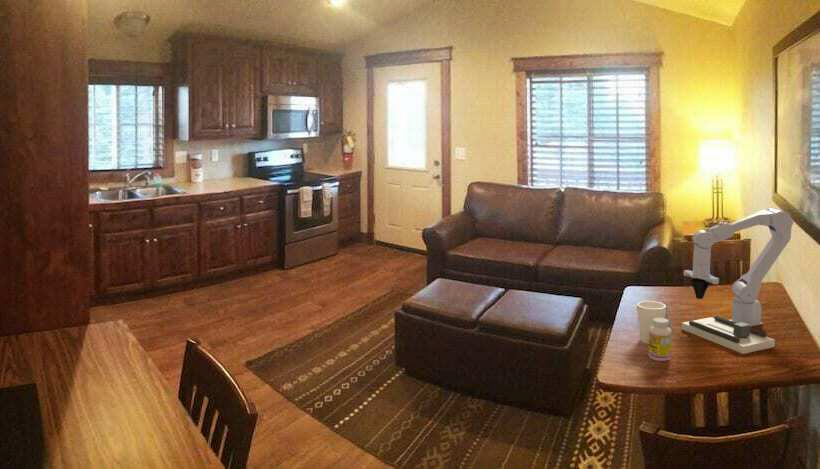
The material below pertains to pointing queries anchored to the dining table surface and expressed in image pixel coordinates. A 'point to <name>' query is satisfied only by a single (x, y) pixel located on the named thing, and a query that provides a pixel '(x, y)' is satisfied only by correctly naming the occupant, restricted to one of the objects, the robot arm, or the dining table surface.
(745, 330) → the block
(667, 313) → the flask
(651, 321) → the foam cup
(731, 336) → the dark grey guard rails
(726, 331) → the panel
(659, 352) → the supplement bottle
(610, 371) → the dining table surface
